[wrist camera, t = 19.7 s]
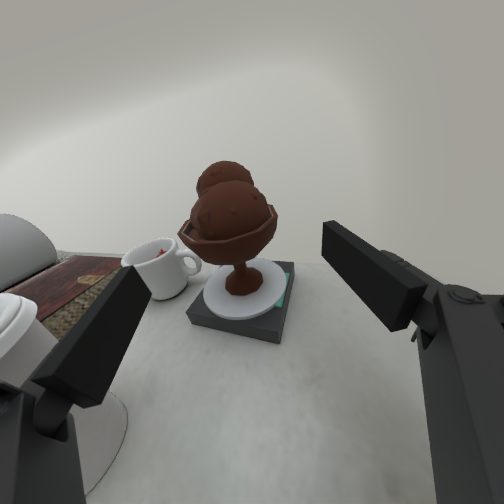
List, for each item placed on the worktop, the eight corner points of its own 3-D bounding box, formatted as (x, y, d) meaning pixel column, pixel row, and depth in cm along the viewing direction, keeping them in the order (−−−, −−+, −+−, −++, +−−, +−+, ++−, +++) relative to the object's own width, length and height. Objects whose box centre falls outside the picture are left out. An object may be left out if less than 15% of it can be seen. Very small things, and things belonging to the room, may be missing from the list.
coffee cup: (61, 401, 18) (-128, 305, 10) (155, 368, 20) (49, 259, 12) (-45, 595, 10) (-1216, 824, 2) (124, 520, 12) (-286, 508, 4)
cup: (211, 267, 34) (198, 230, 30) (205, 298, 27) (186, 256, 23) (157, 277, 34) (136, 242, 30) (138, 310, 28) (107, 271, 23)
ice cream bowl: (200, 274, 28) (156, 172, 20) (264, 251, 30) (248, 152, 22) (212, 329, 19) (143, 186, 11) (300, 290, 22) (296, 151, 14)
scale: (294, 273, 29) (293, 258, 27) (279, 344, 20) (277, 328, 18) (229, 268, 33) (225, 254, 31) (191, 323, 24) (183, 309, 22)
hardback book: (87, 271, 42) (72, 253, 39) (144, 279, 35) (130, 258, 32) (-188, 441, 19) (-267, 427, 17) (-178, 554, 13) (-308, 561, 10)
